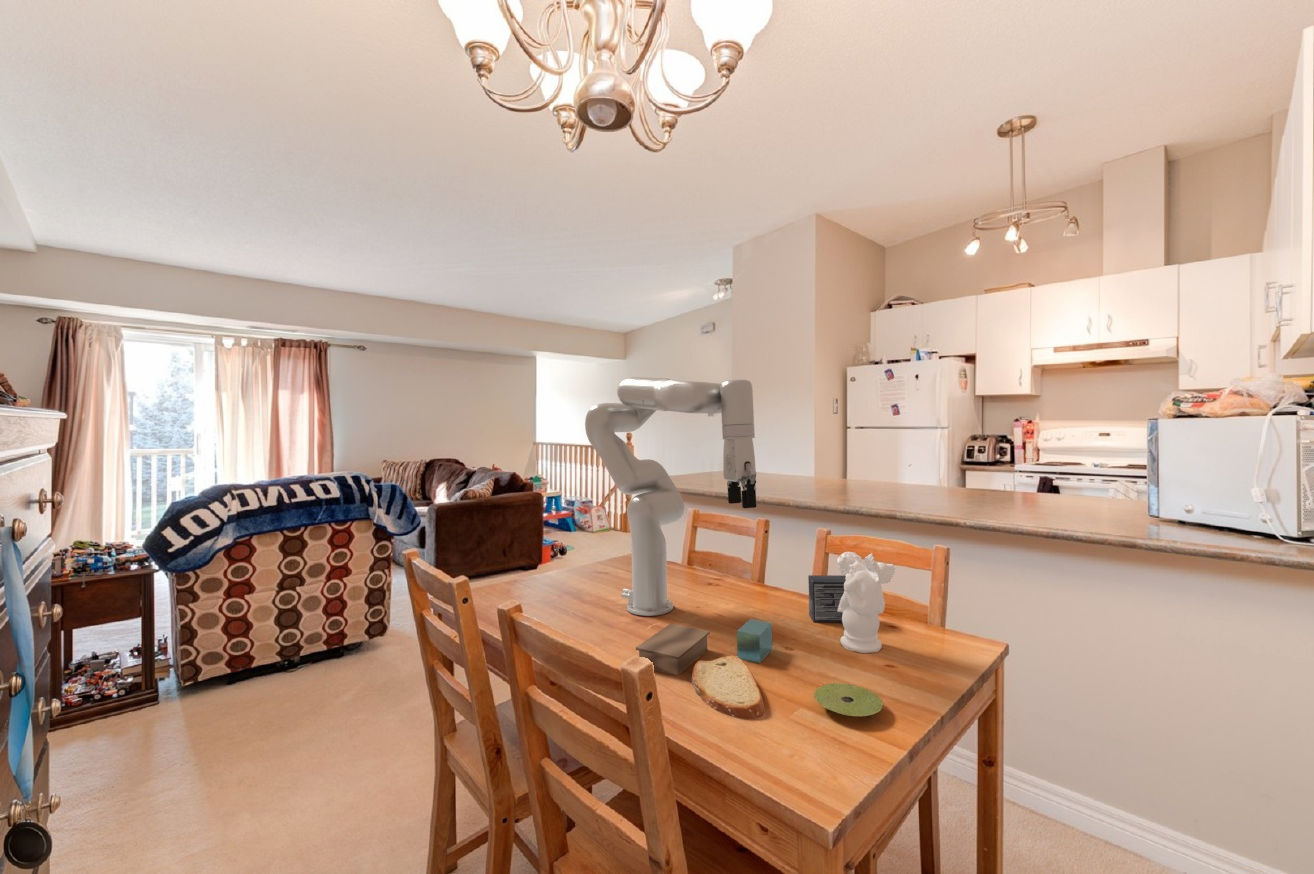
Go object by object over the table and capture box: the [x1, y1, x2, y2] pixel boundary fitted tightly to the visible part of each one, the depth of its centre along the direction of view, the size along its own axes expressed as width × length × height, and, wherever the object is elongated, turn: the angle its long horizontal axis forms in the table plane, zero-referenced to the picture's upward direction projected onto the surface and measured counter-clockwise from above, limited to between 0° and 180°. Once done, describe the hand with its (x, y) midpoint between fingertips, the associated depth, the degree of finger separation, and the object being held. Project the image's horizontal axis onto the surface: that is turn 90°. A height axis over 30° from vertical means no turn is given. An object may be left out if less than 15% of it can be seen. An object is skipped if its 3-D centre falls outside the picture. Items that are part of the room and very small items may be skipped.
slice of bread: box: [690, 655, 766, 720], centre depth 102 cm, size 18×18×4 cm
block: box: [736, 618, 773, 664], centre depth 117 cm, size 5×8×6 cm, turn 150°
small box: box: [807, 574, 846, 624], centre depth 137 cm, size 11×6×10 cm, turn 84°
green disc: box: [814, 682, 884, 717], centre depth 93 cm, size 11×11×2 cm
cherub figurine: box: [836, 551, 896, 654], centre depth 120 cm, size 12×12×22 cm
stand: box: [635, 623, 711, 676], centre depth 115 cm, size 10×15×4 cm, turn 150°
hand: (741, 505), depth 126 cm, fingers open, 9 cm apart
